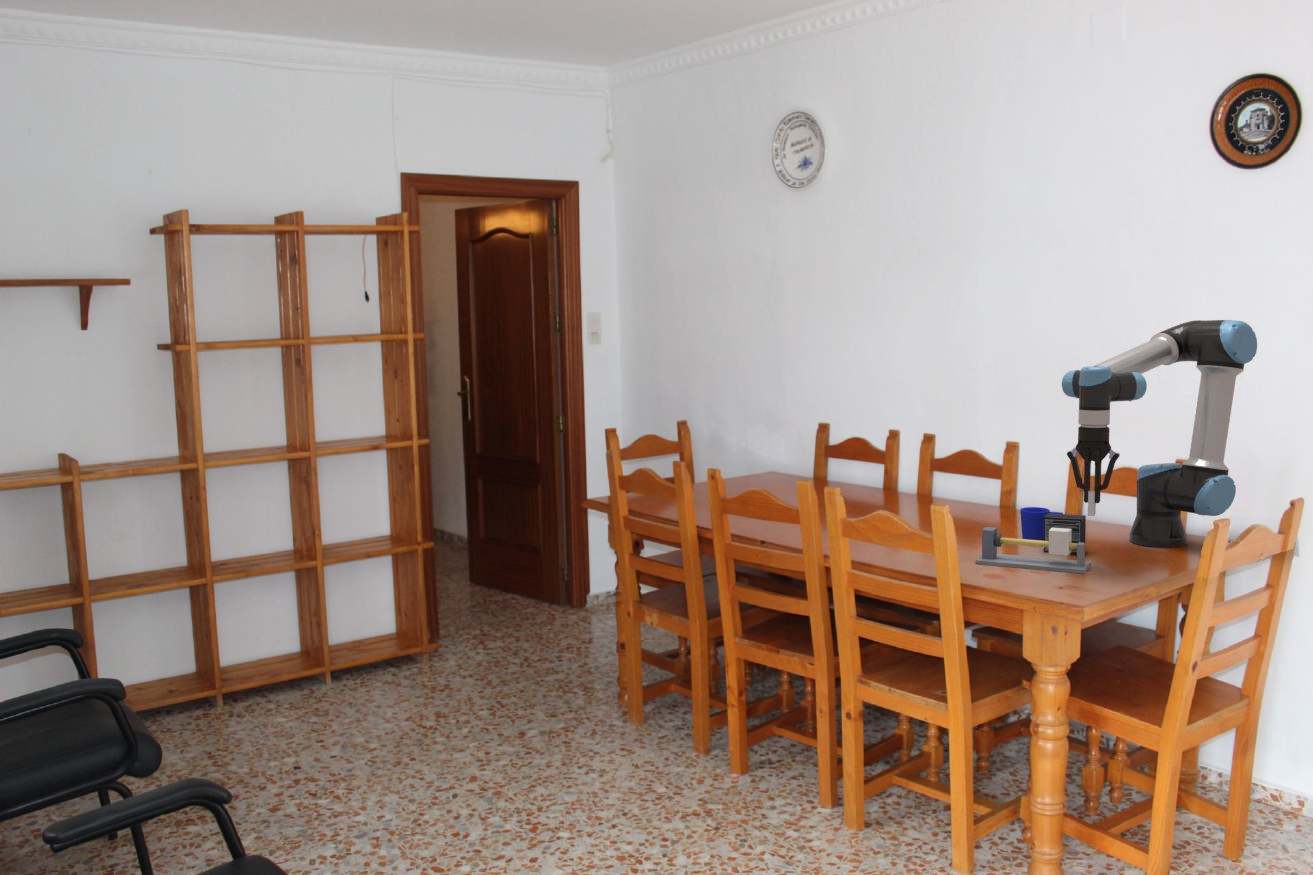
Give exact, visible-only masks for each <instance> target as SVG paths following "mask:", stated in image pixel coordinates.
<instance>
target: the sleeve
mask: <svg viewBox="0 0 1313 875" xmlns="http://www.w3.org/2000/svg"><path fill="white" fill-rule="evenodd" d="M1071 539H1072V529H1067V528H1053V527H1052V528H1051V529H1050V530H1049V553H1048V555H1055V556H1056V555H1057V556H1066V557H1067V556H1070V555H1071V554H1070V553H1071V549H1069V543H1071Z"/></svg>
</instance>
